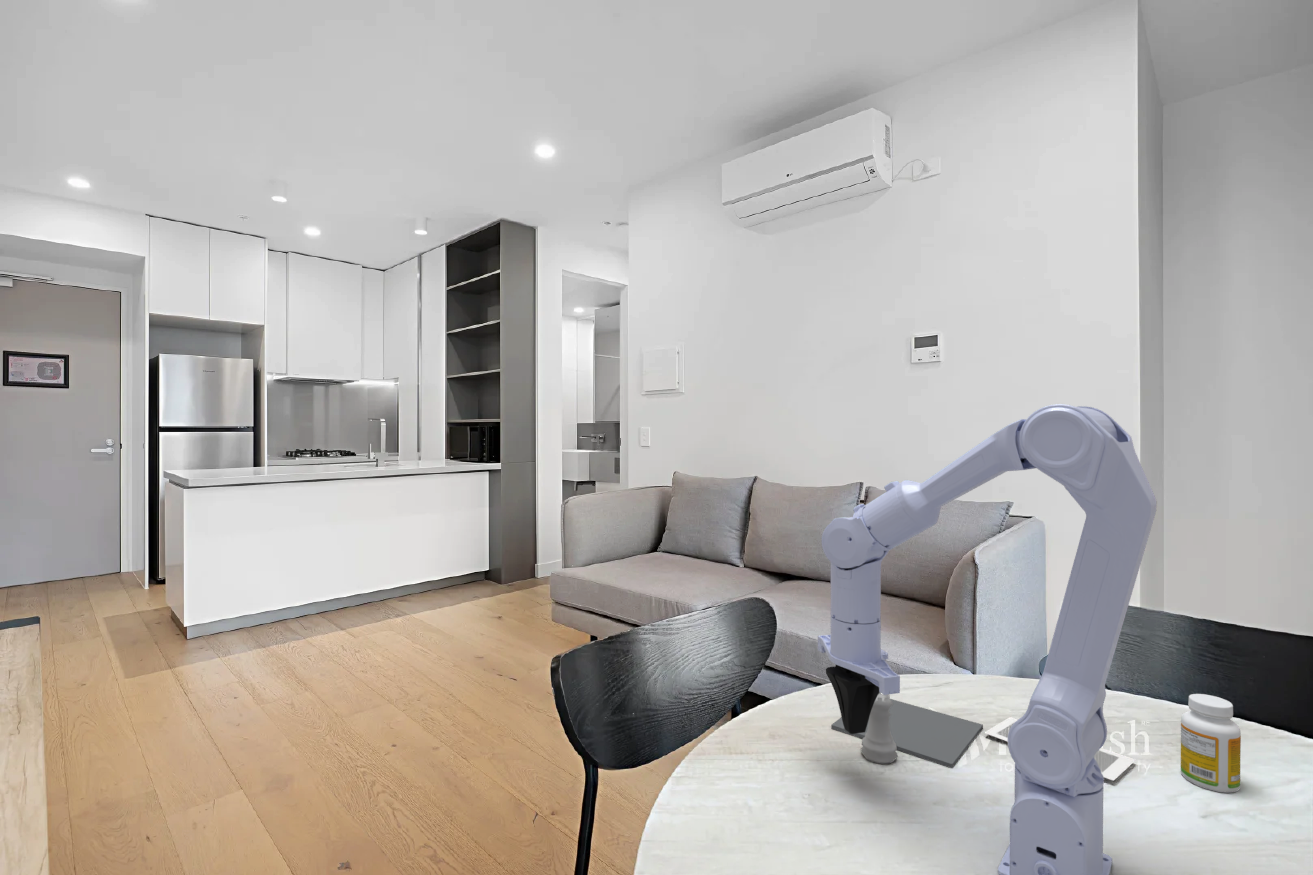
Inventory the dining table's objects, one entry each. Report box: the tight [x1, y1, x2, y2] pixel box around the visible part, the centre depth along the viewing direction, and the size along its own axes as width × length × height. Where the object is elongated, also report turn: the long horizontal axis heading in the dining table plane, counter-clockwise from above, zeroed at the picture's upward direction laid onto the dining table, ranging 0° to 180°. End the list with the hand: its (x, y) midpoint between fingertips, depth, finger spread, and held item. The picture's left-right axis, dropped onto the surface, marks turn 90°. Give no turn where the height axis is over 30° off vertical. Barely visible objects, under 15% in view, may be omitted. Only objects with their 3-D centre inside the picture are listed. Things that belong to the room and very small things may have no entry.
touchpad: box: [983, 716, 1136, 782], centre depth 83 cm, size 8×15×2 cm, turn 37°
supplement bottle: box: [1180, 693, 1242, 794], centre depth 76 cm, size 5×5×10 cm
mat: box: [830, 698, 984, 769], centre depth 90 cm, size 14×16×1 cm
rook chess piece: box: [860, 692, 898, 765], centre depth 82 cm, size 4×4×8 cm
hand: (854, 730), depth 76 cm, fingers closed
